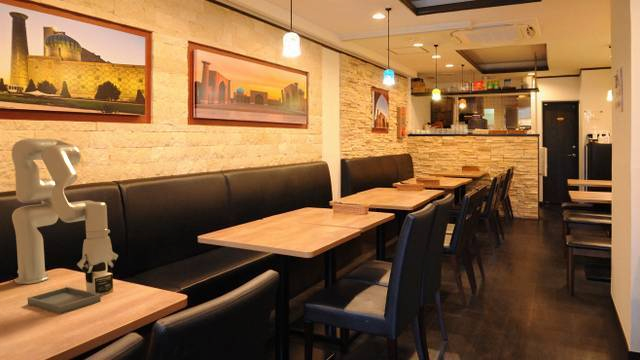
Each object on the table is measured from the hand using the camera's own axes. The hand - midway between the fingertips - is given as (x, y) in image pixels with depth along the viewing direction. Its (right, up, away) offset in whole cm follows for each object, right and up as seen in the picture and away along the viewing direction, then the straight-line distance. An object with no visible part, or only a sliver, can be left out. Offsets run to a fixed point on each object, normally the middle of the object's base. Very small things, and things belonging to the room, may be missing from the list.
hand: (99, 279), depth 183 cm
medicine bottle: (0, -5, 0) cm, 5 cm away
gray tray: (-7, -6, -12) cm, 15 cm away
